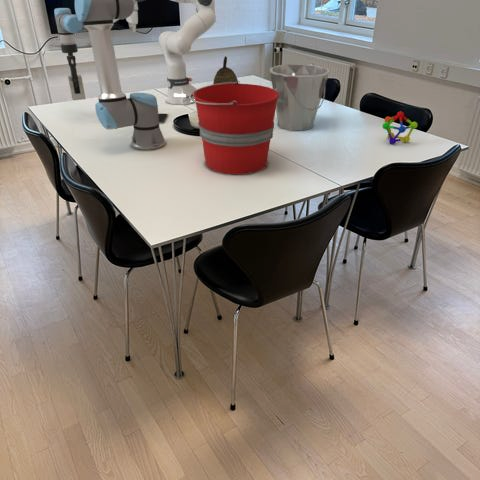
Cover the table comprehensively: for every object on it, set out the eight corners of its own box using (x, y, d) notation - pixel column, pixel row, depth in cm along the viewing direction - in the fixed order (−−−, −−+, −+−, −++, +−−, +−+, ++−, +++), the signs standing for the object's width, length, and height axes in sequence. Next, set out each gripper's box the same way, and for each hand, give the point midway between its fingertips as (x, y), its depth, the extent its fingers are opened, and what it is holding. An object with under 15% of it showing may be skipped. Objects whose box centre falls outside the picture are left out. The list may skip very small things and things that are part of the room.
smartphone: (149, 121, 235) (154, 113, 247) (150, 122, 235) (155, 114, 248) (163, 121, 235) (167, 113, 247) (163, 123, 235) (168, 114, 248)
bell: (227, 105, 294) (202, 96, 282) (238, 66, 289) (213, 55, 277) (243, 108, 280) (217, 98, 268) (255, 66, 275) (229, 55, 263)
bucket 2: (296, 138, 215) (301, 78, 201) (255, 124, 234) (256, 68, 219) (335, 125, 232) (342, 70, 217) (294, 113, 251) (297, 61, 236)
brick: (72, 98, 232) (67, 75, 226) (84, 97, 234) (80, 74, 228) (73, 100, 228) (68, 77, 222) (85, 99, 230) (81, 76, 224)
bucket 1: (198, 147, 204) (194, 79, 188) (274, 148, 203) (277, 80, 187) (188, 177, 175) (183, 101, 159) (277, 179, 174) (281, 102, 158)
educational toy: (377, 146, 209) (379, 114, 202) (384, 138, 219) (386, 107, 211) (411, 149, 202) (415, 116, 195) (417, 141, 212) (420, 109, 204)
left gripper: (59, 41, 223) (68, 89, 235) (61, 46, 209) (71, 97, 221) (75, 40, 225) (83, 87, 237) (77, 45, 211) (86, 95, 223)
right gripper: (122, 4, 278) (125, 29, 286) (127, 7, 262) (130, 33, 269) (132, 4, 280) (134, 28, 288) (138, 7, 264) (141, 32, 272)
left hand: (77, 92), depth 229 cm, fingers closed on brick, 5 cm apart
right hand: (132, 30), depth 278 cm, fingers open, 8 cm apart
